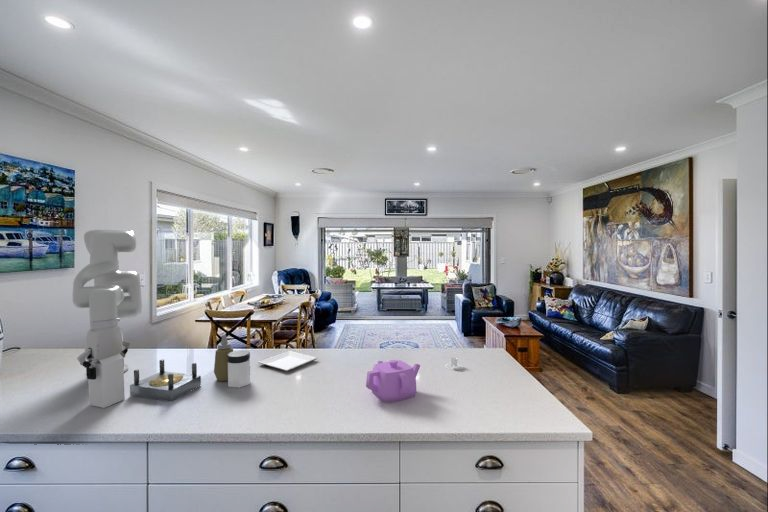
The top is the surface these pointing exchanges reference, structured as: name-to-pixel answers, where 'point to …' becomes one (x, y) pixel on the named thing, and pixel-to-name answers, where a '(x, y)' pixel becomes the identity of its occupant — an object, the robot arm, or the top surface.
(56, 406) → the top surface
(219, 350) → the squeeze bottle
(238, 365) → the jar
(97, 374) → the milk carton
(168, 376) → the grey pegged base
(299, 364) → the plate
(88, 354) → the robot arm
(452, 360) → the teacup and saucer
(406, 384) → the teakettle
